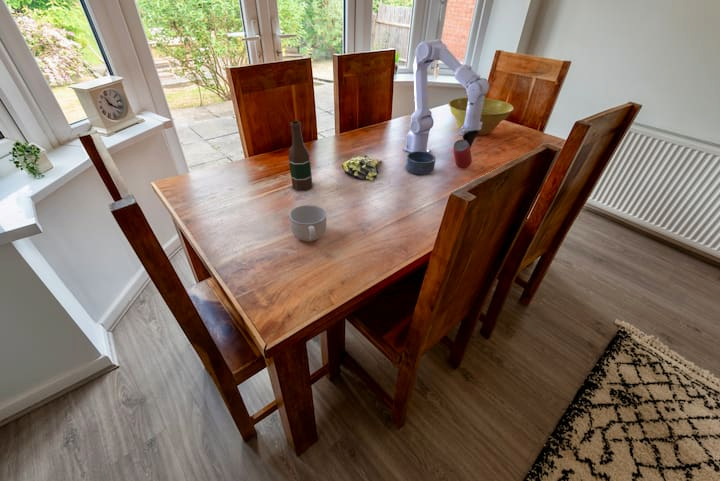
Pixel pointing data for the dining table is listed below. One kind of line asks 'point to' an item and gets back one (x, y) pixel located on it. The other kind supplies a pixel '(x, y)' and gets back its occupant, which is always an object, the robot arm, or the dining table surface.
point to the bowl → (420, 162)
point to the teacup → (308, 222)
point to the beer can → (462, 154)
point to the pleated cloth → (362, 167)
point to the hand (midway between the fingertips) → (467, 148)
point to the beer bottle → (299, 160)
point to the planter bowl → (490, 113)
